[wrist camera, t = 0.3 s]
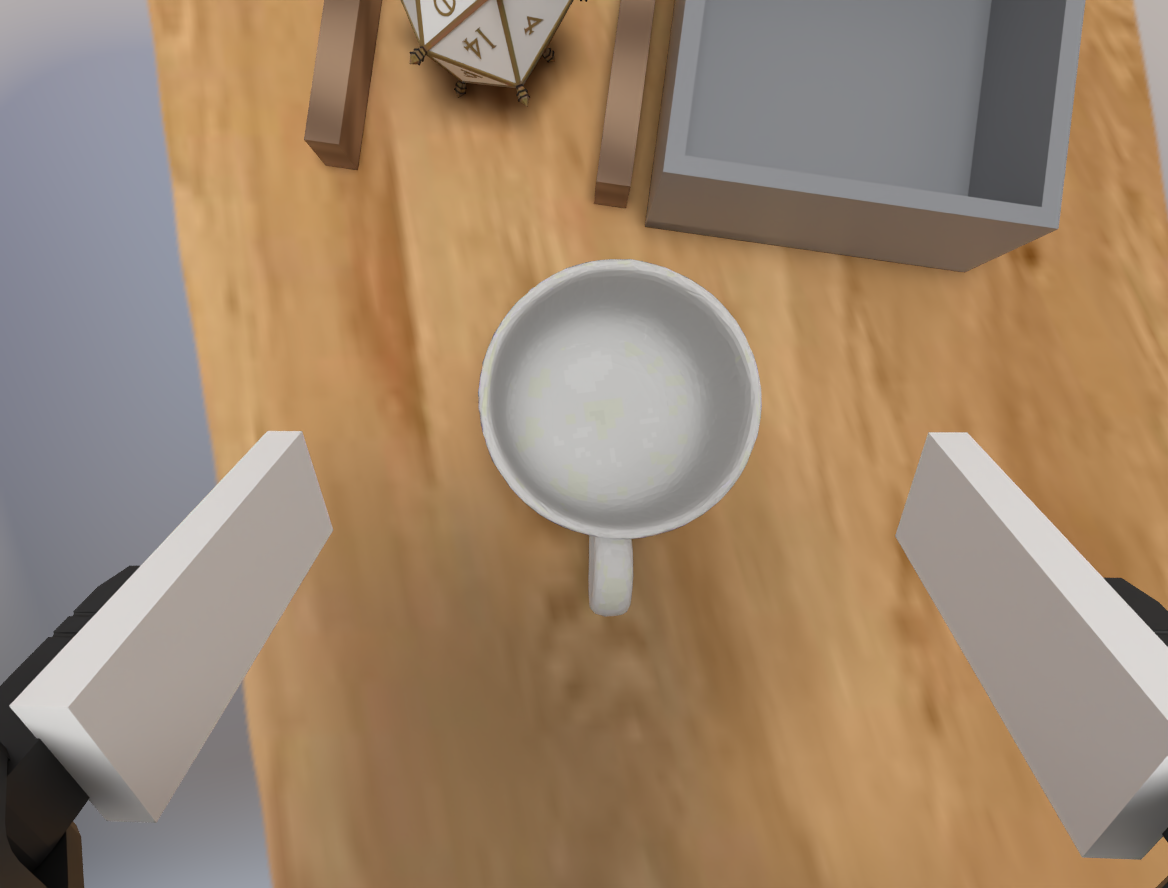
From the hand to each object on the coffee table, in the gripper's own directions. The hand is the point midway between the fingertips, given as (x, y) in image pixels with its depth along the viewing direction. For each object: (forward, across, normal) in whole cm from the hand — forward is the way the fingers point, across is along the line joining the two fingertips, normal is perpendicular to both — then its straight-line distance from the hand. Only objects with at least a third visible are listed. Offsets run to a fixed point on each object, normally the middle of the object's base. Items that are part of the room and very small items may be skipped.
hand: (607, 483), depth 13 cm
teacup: (+15, 0, +9) cm, 18 cm away
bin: (+26, -11, -6) cm, 28 cm away
